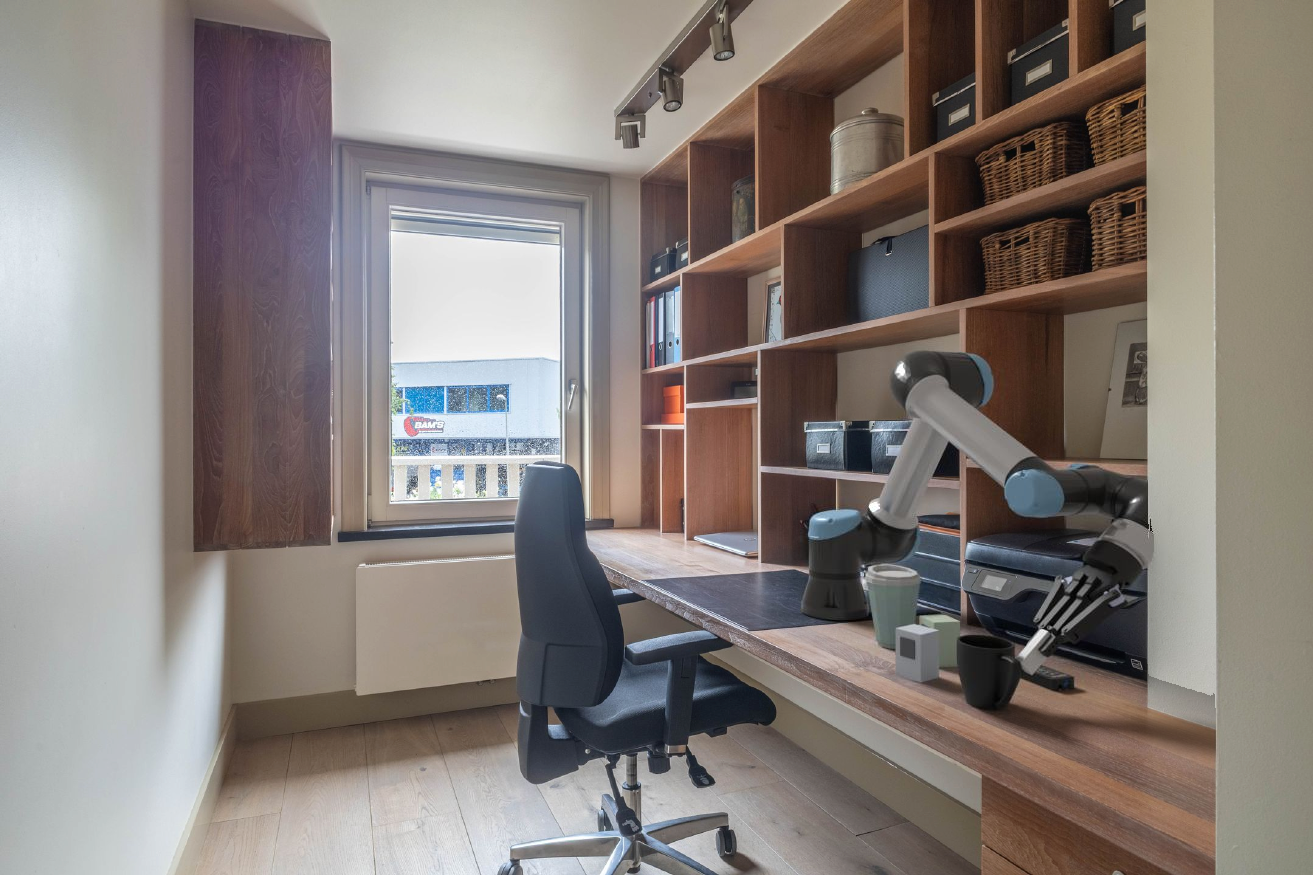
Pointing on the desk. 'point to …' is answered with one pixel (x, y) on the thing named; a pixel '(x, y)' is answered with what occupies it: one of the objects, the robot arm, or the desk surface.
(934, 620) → the block sage
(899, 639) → the block grey
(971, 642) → the mug
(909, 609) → the disposable coffee cup
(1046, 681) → the multiport hub
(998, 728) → the desk surface
